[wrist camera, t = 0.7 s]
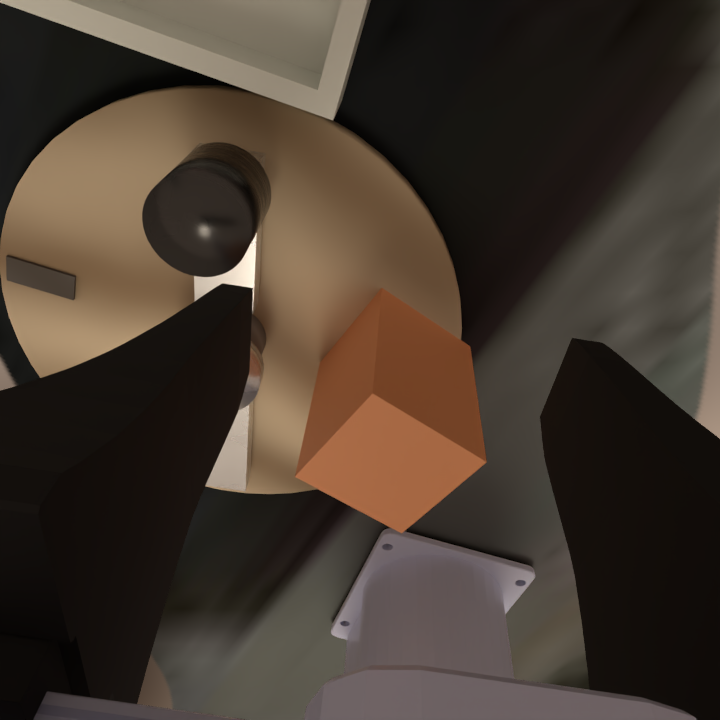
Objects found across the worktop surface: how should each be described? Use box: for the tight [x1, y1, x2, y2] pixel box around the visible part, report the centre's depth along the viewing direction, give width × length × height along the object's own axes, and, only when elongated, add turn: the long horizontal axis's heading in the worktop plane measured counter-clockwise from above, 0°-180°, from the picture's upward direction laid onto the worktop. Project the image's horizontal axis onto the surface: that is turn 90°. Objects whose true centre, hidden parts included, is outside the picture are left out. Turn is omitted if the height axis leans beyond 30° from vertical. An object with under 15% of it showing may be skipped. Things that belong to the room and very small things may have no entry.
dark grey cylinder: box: [142, 142, 271, 491], centre depth 21 cm, size 14×3×4 cm, turn 172°
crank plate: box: [0, 85, 462, 494], centre depth 22 cm, size 17×17×2 cm
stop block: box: [295, 288, 487, 533], centre depth 20 cm, size 4×4×6 cm
